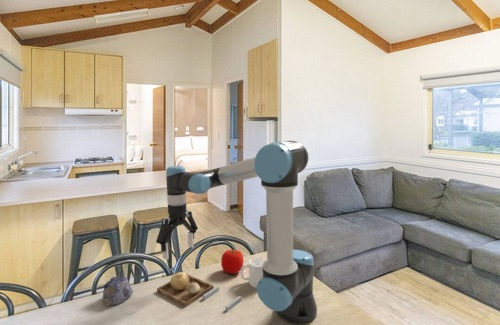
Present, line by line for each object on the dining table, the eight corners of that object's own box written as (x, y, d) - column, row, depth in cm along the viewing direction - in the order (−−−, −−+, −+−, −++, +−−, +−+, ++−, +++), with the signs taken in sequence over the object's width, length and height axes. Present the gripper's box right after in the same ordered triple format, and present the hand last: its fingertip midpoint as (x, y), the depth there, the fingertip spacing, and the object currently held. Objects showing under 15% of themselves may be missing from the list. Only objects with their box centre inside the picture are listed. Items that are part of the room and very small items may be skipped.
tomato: (220, 267, 147) (220, 246, 145) (241, 265, 148) (241, 244, 147) (222, 278, 136) (222, 256, 135) (245, 276, 138) (245, 254, 137)
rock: (120, 281, 129) (121, 268, 123) (135, 298, 125) (136, 285, 119) (96, 298, 121) (95, 284, 115) (111, 316, 117) (111, 302, 111)
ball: (202, 293, 124) (202, 282, 123) (193, 299, 120) (193, 287, 119) (194, 289, 126) (193, 278, 126) (185, 295, 122) (184, 283, 122)
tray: (213, 289, 127) (213, 285, 127) (185, 308, 115) (185, 303, 114) (185, 277, 137) (185, 273, 137) (157, 292, 125) (157, 288, 125)
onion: (167, 287, 128) (166, 271, 127) (183, 280, 134) (183, 265, 133) (176, 295, 123) (175, 278, 122) (193, 287, 128) (192, 272, 127)
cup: (268, 289, 128) (268, 266, 126) (240, 288, 128) (240, 266, 126) (267, 278, 136) (267, 257, 134) (241, 278, 136) (240, 257, 135)
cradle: (241, 301, 119) (241, 296, 118) (227, 312, 112) (227, 307, 112) (217, 290, 126) (216, 286, 126) (202, 300, 120) (202, 295, 119)
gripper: (193, 196, 135) (194, 240, 138) (145, 209, 115) (148, 261, 118) (204, 198, 131) (206, 244, 133) (157, 212, 111) (159, 266, 114)
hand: (178, 252), depth 126 cm, fingers open, 13 cm apart
